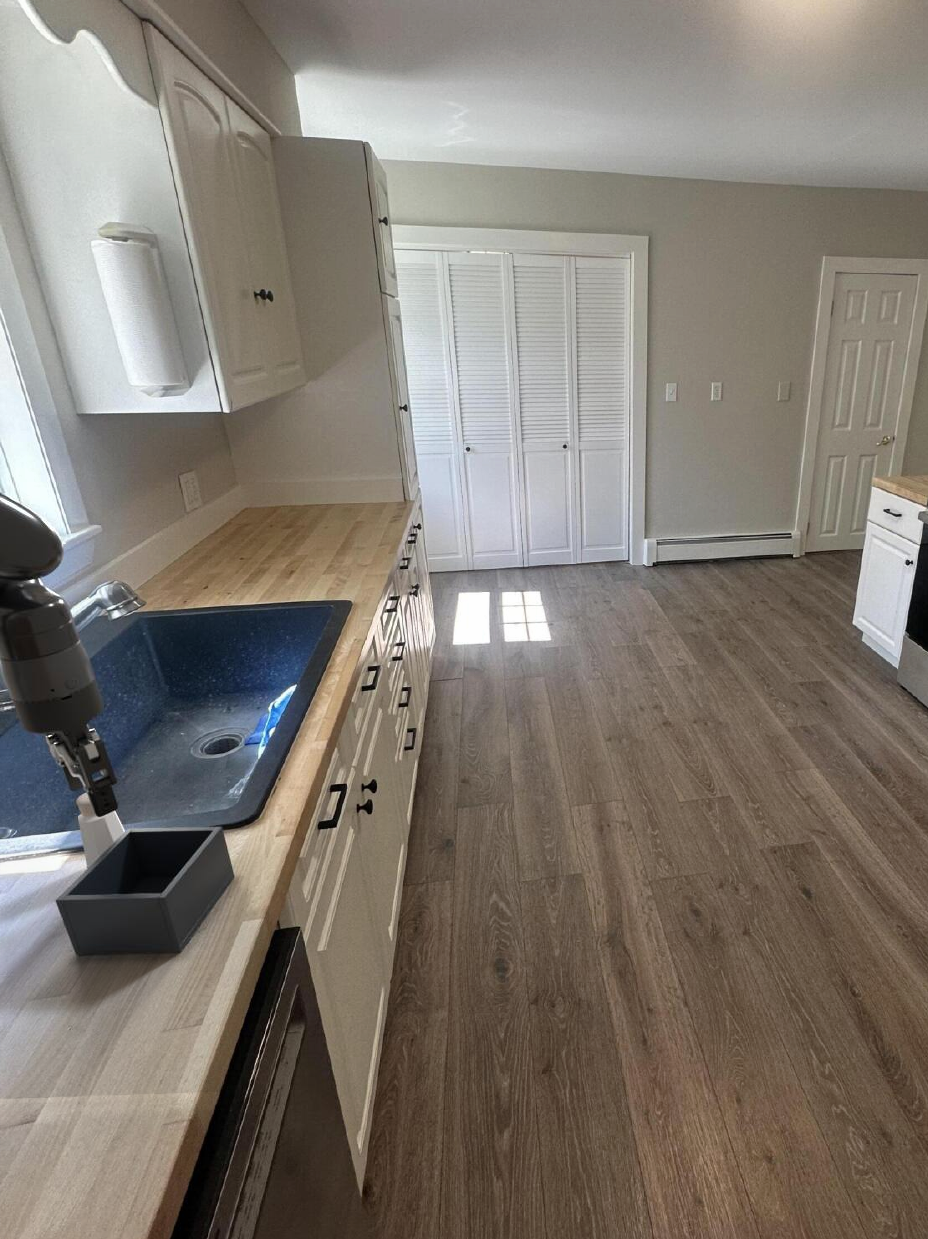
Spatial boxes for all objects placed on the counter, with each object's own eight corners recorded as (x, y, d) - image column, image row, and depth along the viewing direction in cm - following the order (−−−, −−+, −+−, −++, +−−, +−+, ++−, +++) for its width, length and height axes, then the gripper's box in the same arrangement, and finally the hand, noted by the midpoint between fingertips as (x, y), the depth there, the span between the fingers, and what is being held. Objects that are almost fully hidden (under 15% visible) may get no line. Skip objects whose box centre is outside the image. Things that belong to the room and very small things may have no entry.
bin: (75, 955, 73) (54, 900, 70) (143, 878, 83) (127, 828, 81) (181, 952, 73) (164, 897, 70) (235, 876, 84) (222, 826, 81)
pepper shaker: (96, 857, 87) (72, 787, 83) (144, 847, 89) (123, 778, 85) (79, 886, 82) (53, 813, 78) (131, 875, 84) (107, 804, 80)
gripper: (-8, 679, 77) (37, 795, 82) (31, 714, 69) (78, 839, 75) (71, 656, 83) (107, 766, 88) (115, 686, 75) (152, 804, 80)
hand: (94, 799), depth 81 cm, fingers open, 8 cm apart
